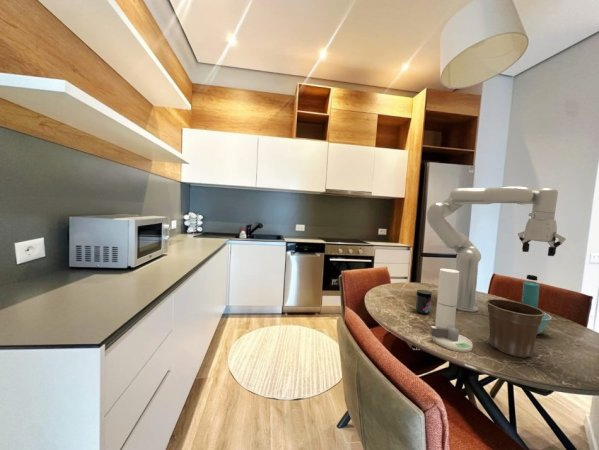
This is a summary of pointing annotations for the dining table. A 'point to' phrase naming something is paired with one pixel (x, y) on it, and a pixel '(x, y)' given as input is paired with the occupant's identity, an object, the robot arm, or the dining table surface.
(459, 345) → the dial plate
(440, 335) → the friction peg
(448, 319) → the cylindrical container
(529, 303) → the beverage bottle
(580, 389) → the dining table surface
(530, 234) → the robot arm
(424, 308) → the supplement container
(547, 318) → the bowl
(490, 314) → the plant pot
